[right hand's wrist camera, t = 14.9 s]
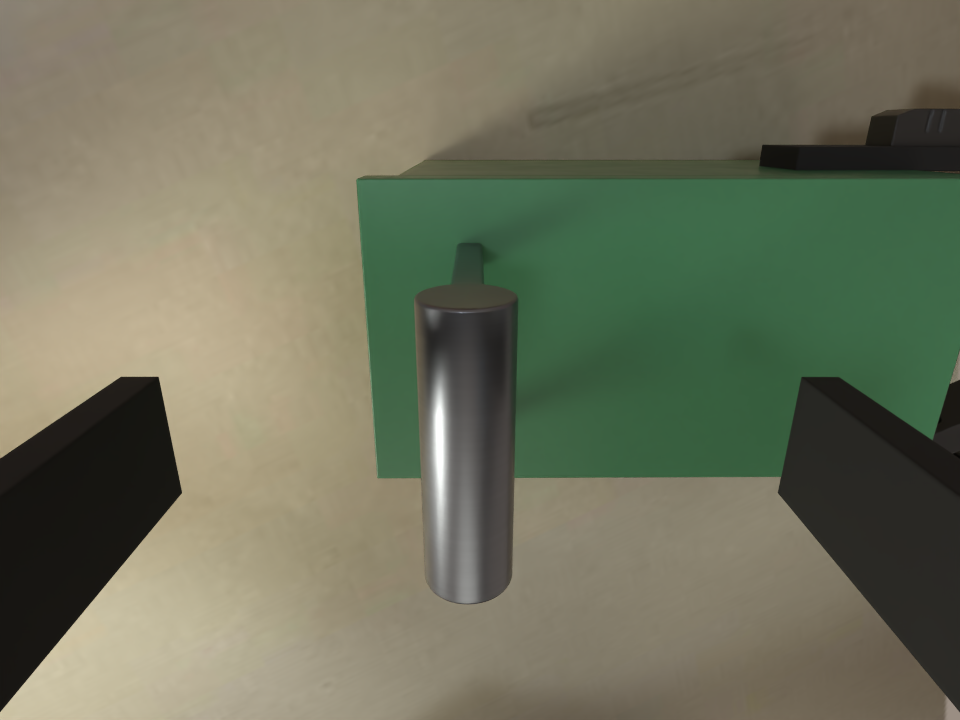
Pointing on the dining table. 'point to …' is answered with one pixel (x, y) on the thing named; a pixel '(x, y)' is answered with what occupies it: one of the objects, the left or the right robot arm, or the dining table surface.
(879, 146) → the left robot arm
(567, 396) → the lid
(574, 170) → the chest
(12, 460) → the right robot arm
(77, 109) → the dining table surface
